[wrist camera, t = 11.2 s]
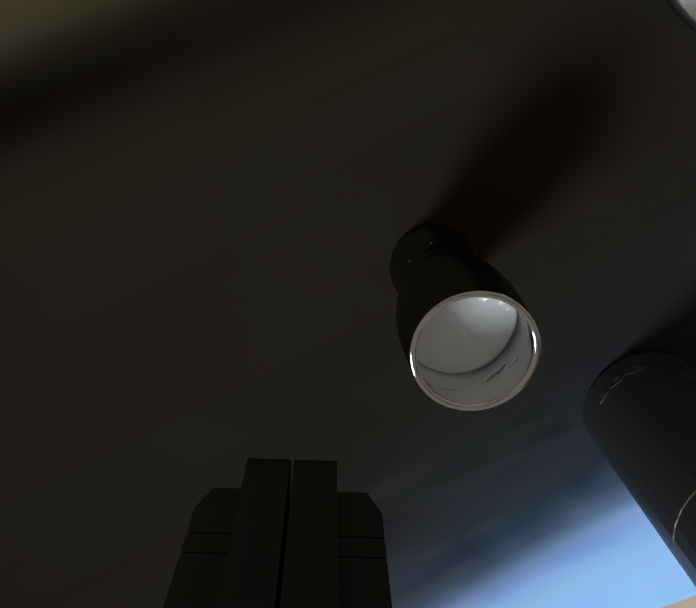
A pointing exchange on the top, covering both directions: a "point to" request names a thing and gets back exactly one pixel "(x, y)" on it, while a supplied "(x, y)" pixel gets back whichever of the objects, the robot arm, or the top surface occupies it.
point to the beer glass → (460, 322)
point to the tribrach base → (685, 11)
